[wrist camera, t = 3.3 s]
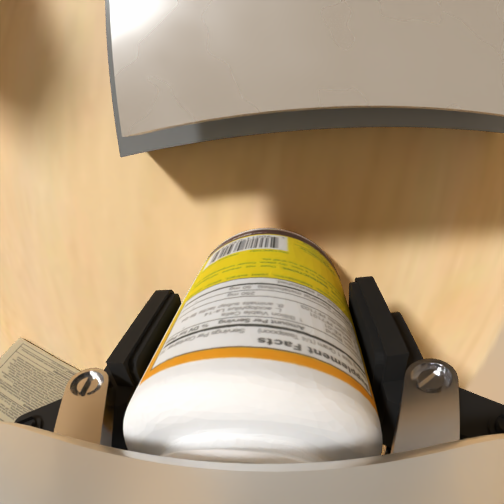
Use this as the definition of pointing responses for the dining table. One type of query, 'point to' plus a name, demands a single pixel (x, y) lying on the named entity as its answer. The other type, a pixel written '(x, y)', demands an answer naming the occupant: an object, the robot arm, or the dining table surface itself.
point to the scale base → (292, 120)
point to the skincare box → (30, 379)
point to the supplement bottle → (258, 363)
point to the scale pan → (302, 57)
